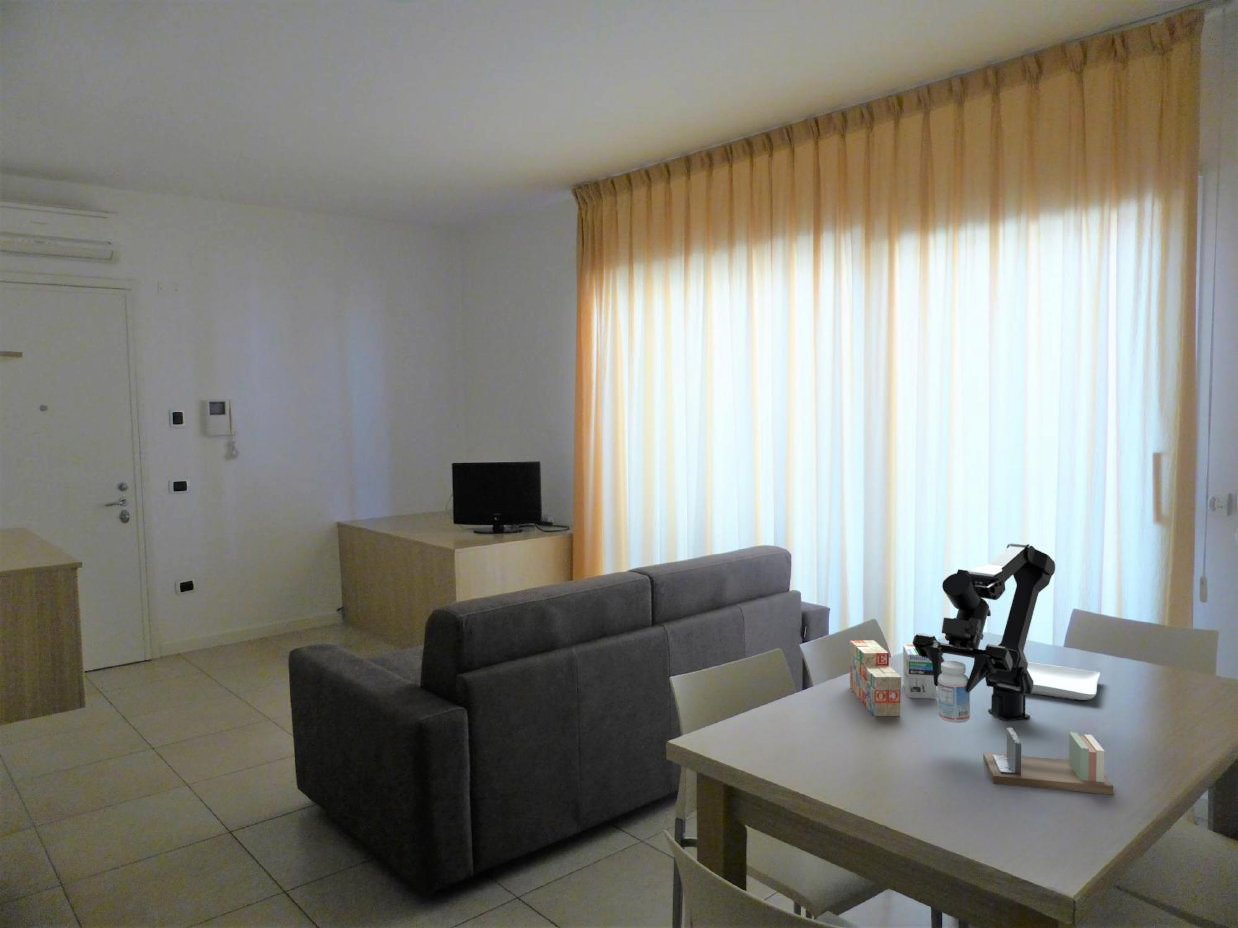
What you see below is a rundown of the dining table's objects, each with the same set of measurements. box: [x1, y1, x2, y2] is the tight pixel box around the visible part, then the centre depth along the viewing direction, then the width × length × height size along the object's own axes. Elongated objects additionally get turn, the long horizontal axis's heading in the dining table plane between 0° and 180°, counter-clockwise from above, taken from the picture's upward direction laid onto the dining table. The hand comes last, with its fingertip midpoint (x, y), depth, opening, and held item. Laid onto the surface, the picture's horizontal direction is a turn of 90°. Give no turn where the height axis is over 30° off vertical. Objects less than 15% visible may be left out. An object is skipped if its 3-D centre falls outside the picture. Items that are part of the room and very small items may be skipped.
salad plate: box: [1027, 661, 1101, 701], centre depth 212 cm, size 21×21×3 cm
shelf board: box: [982, 752, 1114, 795], centre depth 159 cm, size 11×20×2 cm, turn 76°
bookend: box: [993, 727, 1022, 775], centre depth 160 cm, size 8×4×6 cm, turn 166°
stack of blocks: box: [849, 639, 902, 717], centre depth 202 cm, size 21×6×12 cm, turn 179°
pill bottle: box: [937, 660, 971, 724], centre depth 171 cm, size 6×6×11 cm
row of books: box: [1068, 731, 1106, 782], centre depth 157 cm, size 8×4×6 cm, turn 166°
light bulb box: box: [902, 643, 937, 700], centre depth 209 cm, size 11×7×11 cm, turn 168°
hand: (951, 688), depth 170 cm, fingers closed on pill bottle, 6 cm apart
